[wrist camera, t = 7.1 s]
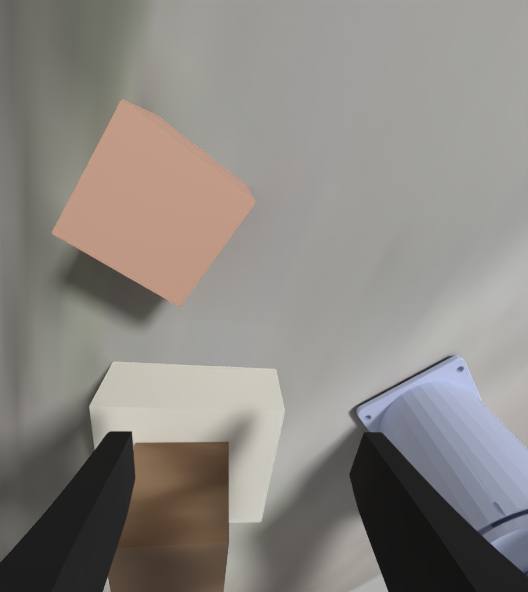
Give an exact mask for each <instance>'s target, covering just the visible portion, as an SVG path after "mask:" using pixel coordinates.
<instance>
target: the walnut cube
mask: <svg viewBox="0 0 528 592" xmlns="http://www.w3.org/2000/svg"><path fill="white" fill-rule="evenodd" d="M133 451H134V464H135V477H136V478H135V483H134V487H133V492H132V496H131V501H130V505H129V510H128V514H127V518H126V521H125V524H124V527H123V531H122V534H121V537H120V540H119V543H118V546H117V549H116V552H115V555H114V558H113V562H112V565H111V568H110V571H109V574H108V579H109V584H110V590H111V592H223V591H224V582H225V573H226V564H227V554H228V545H229V442H159V443H136V444H135V447H134V450H133Z"/></svg>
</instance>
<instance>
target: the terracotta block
mask: <svg viewBox="0 0 528 592" xmlns="http://www.w3.org/2000/svg"><path fill="white" fill-rule="evenodd" d="M255 203H256V202H255V200H254V198H253V196H252V194H251V192H250V190H249V188H248V186H247V185H245V184H244V183H243V182H242V181H240V180H239V179H238V178H236V177H235V176H234V175H233V174H231V173H230V172H229V171H228V170H226V169H225V168H224V167H222V166H221V165H220V164H219V163H217V162H216V161H215V160H214V159H212V158H211V157H210V156H208V155H207V154H206V153H205V152H203V151H202V150H201V149H200V148H198V147H197V146H196V145H194V144H193V143H192V142H191V141H189V140H188V139H187V138H186V137H184V136H183V135H182V134H180V133H179V132H178V131H177V130H175V129H174V128H173V127H172V126H170V125H169V124H168V123H166V122H165V121H164V120H163V119H161V118H160V117H159V116H158V115H156V114H155V113H152V112H150V111H148V110H145V109H143V108H141V107H139V106H136V105H134V104H132V103H130V102H127V101H125V100H123V99H121V101H120V103H119V105H118V107H117V109H116V111H115V113H114V115H113V117H112V119H111V120H110V122H109V124H108V126H107V128H106V130H105V132H104V134H103V136H102V138H101V140H100V142H99V143H98V145H97V147H96V149H95V151H94V153H93V155H92V157H91V159H90V161H89V163H88V165H87V166H86V168H85V170H84V172H83V174H82V176H81V178H80V180H79V182H78V184H77V186H76V187H75V189H74V191H73V193H72V195H71V197H70V199H69V201H68V203H67V205H66V207H65V209H64V210H63V212H62V214H61V216H60V218H59V220H58V222H57V224H56V226H55V228H54V230H53V232H52V234H53V235H55V236H57V237H59V238H60V239H62V240H64V241H66V242H67V243H69V244H71V245H73V246H74V247H76V248H78V249H79V250H81V251H83V252H85V253H86V254H88V255H90V256H92V257H93V258H95V259H97V260H99V261H100V262H102V263H104V264H106V265H107V266H109V267H111V268H112V269H114V270H116V271H118V272H119V273H121V274H123V275H125V276H126V277H128V278H130V279H132V280H133V281H135V282H137V283H139V284H140V285H142V286H144V287H145V288H147V289H149V290H151V291H152V292H154V293H156V294H158V295H159V296H161V297H163V298H165V299H166V300H168V301H170V302H172V303H173V304H175V305H177V306H178V307H180V306H181V305H182V304H183V302H184V301H185V299H186V298H187V297H188V295H189V294H190V293H191V291H192V290H193V288H194V287H195V286H196V284H197V283H198V282H199V280H200V279H201V277H202V276H203V275H204V273H205V272H206V271H207V269H208V268H209V266H210V265H211V264H212V262H213V261H214V259H215V258H216V257H217V255H218V254H219V253H220V251H221V250H222V248H223V247H224V246H225V244H226V243H227V242H228V240H229V239H230V237H231V236H232V235H233V233H234V232H235V231H236V229H237V228H238V226H239V225H240V224H241V222H242V221H243V220H244V218H245V217H246V215H247V214H248V213H249V211H250V210H251V209H252V207H253V206H254V204H255Z"/></svg>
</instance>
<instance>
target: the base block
mask: <svg viewBox="0 0 528 592" xmlns="http://www.w3.org/2000/svg"><path fill="white" fill-rule="evenodd" d="M89 410H90V418H91V425H92V433H93V441H94V449H96V448H97V446H98V445H99V444H100V442H101V441H102V439H103V438H104V437H105V435H106V434H107V433H108V432H110V431H132V439H133V450H134V447H135V444H136V443H159V442H229V523H243V522H261V520H262V515H263V511H264V506H265V501H266V497H267V492H268V488H269V483H270V478H271V474H272V469H273V464H274V460H275V455H276V451H277V446H278V441H279V437H280V432H281V427H282V423H283V418H284V414H285V409H284V405H283V400H282V395H281V390H280V385H279V381H278V376H277V371H276V369H262V368H240V367H218V366H197V365H175V364H153V363H131V362H113V363H112V364H111V366H110V368H109V370H108V372H107V374H106V376H105V378H104V379H103V381H102V383H101V385H100V387H99V389H98V391H97V392H96V394H95V396H94V398H93V400H92V402H91V404H90V406H89Z"/></svg>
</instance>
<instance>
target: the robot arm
mask: <svg viewBox="0 0 528 592" xmlns="http://www.w3.org/2000/svg"><path fill="white" fill-rule="evenodd" d="M458 367H459V368H458ZM356 413H357V415H358V417H359V418H360V420H361V421H362V423H363V424H364V425H365V427H366V428H367V429H368V431H369V432H364V434H363V437H362V440H361V443H360V445H359V448H358V451H357V454H356V457H355V460H354V463H353V466H352V469H351V471H350V479H351V483H352V487H353V491H354V495H355V499H356V503H357V507H358V510H359V513H360V516H361V519H362V521H363V524H364V527H365V530H366V532H367V535H368V538H369V541H370V543H371V546H372V549H373V551H374V554H375V557H376V559H377V562H378V565H379V567H380V570H381V573H382V576H383V578H384V581H385V583H386V586H387V589H388V592H528V449H527V448H526V446H525V445H524V444H523V443H522V442H521V441H520V440H519V439H518V438H517V437H516V436H515V435H514V434H513V433H512V432H511V431H510V430H509V429H508V428H507V427H506V426H505V425H504V424H503V423H502V422H501V421H500V420H499V419H498V418H497V417H496V416H495V415H494V414H493V413H492V412H491V411H490V410H489V409H488V408H487V407H486V406H485V405H484V404H483V402H482V400H481V397H480V395H479V393H478V390H477V388H476V386H475V383H474V381H473V379H472V376H471V374H470V372H469V369H468V367H467V365H466V363H465V360H464V359H463V358H462V357H461V356H458V355H457V356H453V357H451V358H449V359H447V360H445V361H443V362H441V363H439V364H438V365H436V366H434V367H432V368H430V369H428V370H426V371H424V372H423V373H421V374H419V375H417V376H415V377H413V378H411V379H410V380H408V381H406V382H404V383H402V384H400V385H398V386H396V387H395V388H393V389H391V390H389V391H387V392H385V393H383V394H381V395H380V396H378V397H376V398H374V399H372V400H370V401H368V402H367V403H365V404H363V405H361V406H359V407H358V408H357V410H356ZM367 415H368V416H367ZM135 478H136V477H135V464H134V451H133V439H132V431H110V432H108V433H107V434H106V435H105V437H104V438H103V439H102V441H101V442H100V444H99V445H98V446H97V448H96V449H95V450H94V452H93V453H92V454H91V456H90V457H89V458H88V460H87V461H86V462H85V464H84V465H83V466H82V468H81V469H80V470H79V471H78V473H77V474H76V475H75V477H74V478H73V479H72V480H71V482H70V483H69V484H68V485H67V487H66V488H65V489H64V490H63V491H62V493H61V494H60V495H59V496H58V497H57V499H56V500H55V501H54V502H53V504H52V505H51V506H50V507H49V508H48V510H47V511H46V512H45V513H44V514H43V516H42V517H41V518H40V519H39V520H38V521H37V522H36V523H35V525H34V526H33V527H32V528H31V529H30V530H29V531H28V533H27V534H26V535H25V536H24V537H23V538H22V539H21V540H20V542H19V543H18V544H17V545H16V546H15V547H14V548H13V549H12V551H11V552H10V553H9V554H8V555H7V556H6V557H5V558H4V559H3V560H2V561H1V562H0V592H103V589H104V586H105V583H106V580H107V577H108V574H109V571H110V568H111V565H112V562H113V558H114V555H115V552H116V549H117V546H118V543H119V540H120V537H121V534H122V531H123V527H124V524H125V521H126V518H127V514H128V510H129V505H130V501H131V496H132V492H133V487H134V483H135Z"/></svg>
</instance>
